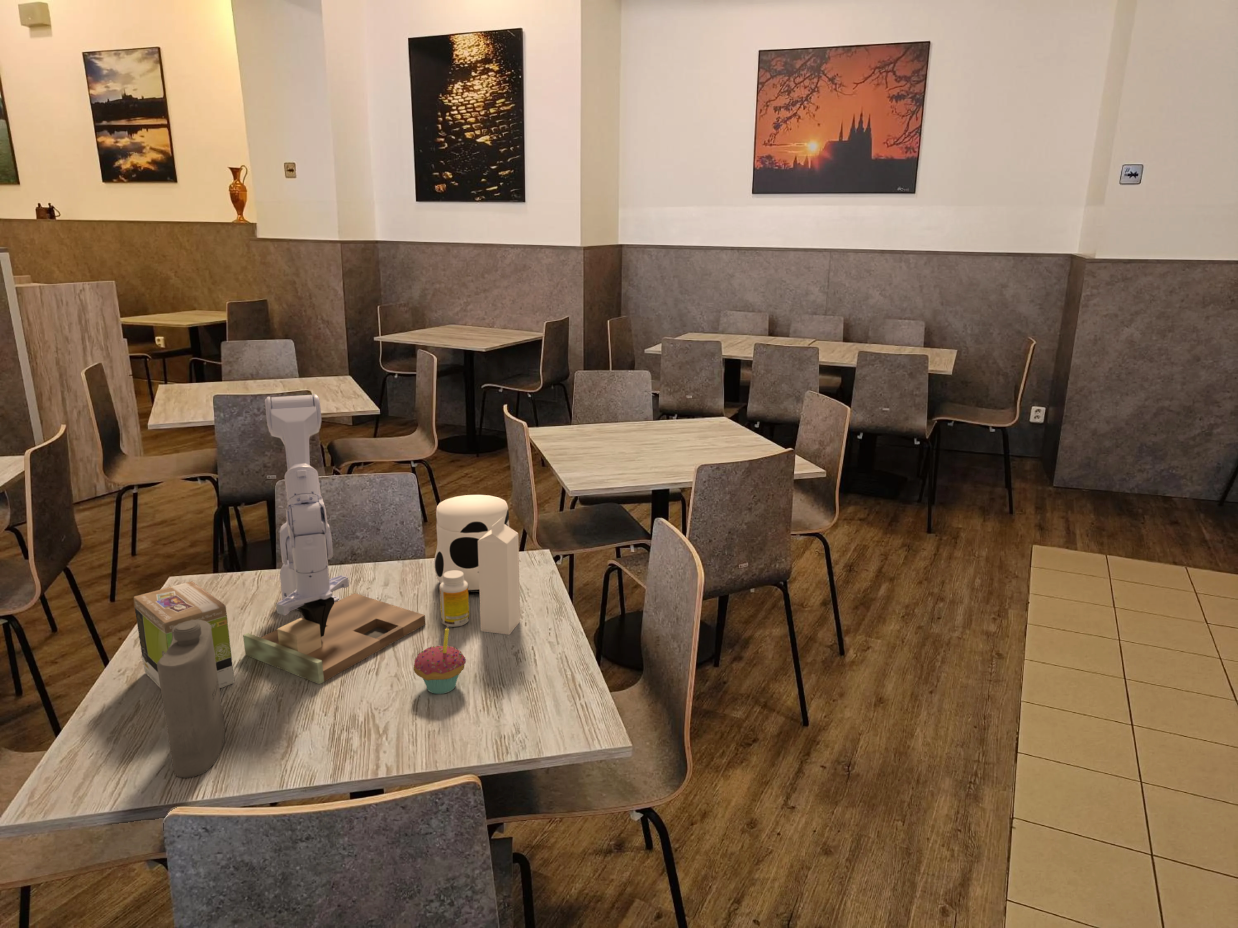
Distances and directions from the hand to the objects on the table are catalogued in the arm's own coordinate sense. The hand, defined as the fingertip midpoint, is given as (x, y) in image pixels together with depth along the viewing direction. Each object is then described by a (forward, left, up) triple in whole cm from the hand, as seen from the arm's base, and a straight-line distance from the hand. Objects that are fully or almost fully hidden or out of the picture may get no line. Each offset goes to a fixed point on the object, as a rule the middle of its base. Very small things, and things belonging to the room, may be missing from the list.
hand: (317, 635), depth 149 cm
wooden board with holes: (0, +5, -3) cm, 6 cm away
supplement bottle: (+14, +22, -3) cm, 26 cm away
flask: (+9, -29, -3) cm, 31 cm away
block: (0, -4, -1) cm, 4 cm away
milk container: (+5, +39, -3) cm, 39 cm away
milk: (+23, +25, -3) cm, 34 cm away
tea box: (-11, -18, -3) cm, 22 cm away
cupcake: (+28, +2, -3) cm, 28 cm away
